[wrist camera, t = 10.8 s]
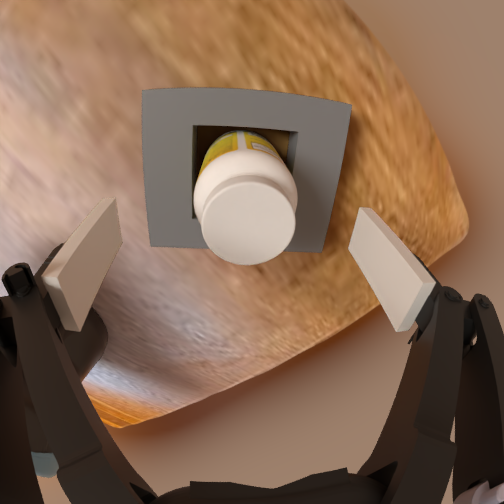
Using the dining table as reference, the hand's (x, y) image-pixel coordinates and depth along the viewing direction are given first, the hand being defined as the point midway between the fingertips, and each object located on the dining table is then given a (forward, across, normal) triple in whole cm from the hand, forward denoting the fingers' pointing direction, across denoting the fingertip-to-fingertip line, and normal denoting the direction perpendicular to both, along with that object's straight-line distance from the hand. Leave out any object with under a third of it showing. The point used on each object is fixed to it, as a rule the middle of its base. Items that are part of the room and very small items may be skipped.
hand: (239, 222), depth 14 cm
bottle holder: (+10, -1, 0) cm, 10 cm away
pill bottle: (+10, -1, 0) cm, 10 cm away
